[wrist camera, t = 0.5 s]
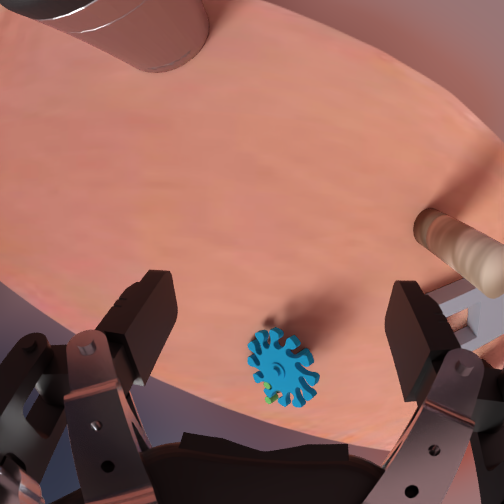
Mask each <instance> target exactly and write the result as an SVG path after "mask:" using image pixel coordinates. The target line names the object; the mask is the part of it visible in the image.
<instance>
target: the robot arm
mask: <svg viewBox="0 0 504 504" xmlns="http://www.w3.org/2000/svg"><path fill="white" fill-rule="evenodd" d="M0 4H1V5H2V6H4V7H5V8H7V9H8V10H11V11H13V12H15V13H18V14H20V15H23V16H26V17H28V18H31V19H33V20H36V21H38V22H41V23H43V24H45V25H48V26H50V27H53V28H55V29H57V30H60V31H62V32H65V33H67V34H69V35H71V36H73V37H76V38H78V39H80V40H82V41H84V42H86V43H88V44H90V45H92V46H95V47H97V48H99V49H101V50H103V51H105V52H107V53H109V54H111V55H112V56H114V57H116V58H118V59H120V60H122V61H124V62H126V63H128V64H130V65H132V66H134V67H135V68H137V69H139V70H142V71H146V72H154V73H158V72H166V71H169V70H173V69H176V68H178V67H180V66H182V65H184V64H185V63H187V62H188V61H189V60H191V59H192V58H193V57H194V56H195V55H196V54H197V53H198V52H199V51H200V49H201V48H202V46H203V45H204V43H205V41H206V38H207V36H208V30H209V21H208V17H207V14H206V12H205V9H204V6H203V4H202V1H201V0H0ZM177 313H178V307H177V301H176V296H175V290H174V285H173V279H172V275H171V273H170V271H163V270H149V271H148V272H147V273H146V274H145V276H144V277H143V278H142V280H141V281H140V282H136V283H134V284H133V285H131V286H130V287H128V288H127V289H125V291H124V292H123V293H122V294H121V296H120V297H119V299H118V300H117V301H116V302H115V303H114V306H113V307H111V309H110V310H109V311H108V313H107V314H106V315H105V317H104V318H103V319H102V321H101V322H100V323H99V325H98V326H97V327H96V329H95V330H86V331H83V332H80V333H78V334H76V335H75V336H74V337H72V338H71V339H70V341H69V342H68V344H67V345H50V344H49V342H48V340H47V338H46V336H45V335H44V334H41V333H31V334H28V335H26V336H24V337H22V338H21V339H20V340H19V341H18V342H17V343H16V344H15V346H14V347H13V348H12V350H11V351H10V352H9V353H8V355H7V356H6V358H5V359H4V360H3V361H2V363H1V364H0V504H45V501H44V498H43V497H42V496H41V488H40V486H39V485H40V482H41V480H42V478H43V475H44V473H45V471H46V468H47V466H48V464H49V461H50V459H51V457H52V455H53V452H54V450H55V448H56V446H57V443H58V441H59V439H60V437H61V435H62V433H63V431H64V429H65V427H66V425H67V426H68V432H69V438H70V443H71V449H72V454H73V458H74V463H75V467H76V471H77V476H78V479H79V483H80V487H81V488H79V489H78V490H76V491H74V492H72V493H70V494H68V495H66V496H64V497H62V498H60V499H58V500H56V501H54V502H52V503H50V504H441V503H442V501H443V499H444V497H445V495H446V493H447V491H448V489H449V487H450V485H451V483H452V481H453V479H454V477H455V474H456V472H457V470H458V468H459V465H460V463H461V461H462V458H463V456H464V453H465V451H466V448H467V445H468V443H469V440H470V442H471V447H472V451H473V456H474V461H475V466H476V472H477V477H478V483H479V489H480V497H481V504H504V368H503V370H500V369H494V368H487V367H484V365H483V362H482V361H481V359H480V358H479V357H478V356H477V355H476V354H475V353H473V352H472V351H470V350H467V349H462V348H461V346H460V344H459V342H458V340H457V338H456V336H455V334H454V332H453V330H452V328H451V326H450V324H449V323H447V319H446V317H445V315H443V312H442V310H441V308H440V306H439V304H438V303H437V302H436V301H435V300H434V299H433V298H431V297H430V296H429V295H424V294H423V292H422V290H421V288H420V286H419V285H418V283H417V282H416V281H399V280H397V281H395V283H394V285H393V289H392V293H391V297H390V301H389V305H388V308H387V312H386V316H385V332H386V336H387V339H388V342H389V346H390V349H391V353H392V356H393V360H394V363H395V367H396V370H397V374H398V378H399V382H400V385H401V389H402V393H403V397H404V401H405V402H411V401H417V405H418V407H417V409H416V410H415V412H414V414H413V416H412V417H411V419H410V421H409V423H408V424H407V426H406V428H405V429H404V431H403V433H402V435H401V436H400V438H399V439H398V441H397V443H396V444H395V446H394V447H393V449H392V450H391V452H390V454H389V455H388V456H387V458H386V459H385V461H384V462H383V463H382V465H381V466H378V465H376V464H375V463H373V462H371V461H369V460H366V459H364V458H361V457H358V456H354V455H349V454H348V444H326V445H325V444H322V445H321V444H318V445H316V444H314V445H312V444H307V445H302V446H298V447H292V448H287V449H280V450H274V451H266V452H265V451H259V450H256V449H252V448H249V447H246V446H243V445H240V444H237V443H234V442H232V441H229V440H226V439H223V438H217V437H209V436H203V435H197V434H191V433H186V432H184V433H183V436H182V439H181V442H176V443H169V444H164V445H160V446H156V447H152V445H151V443H150V441H149V439H148V437H147V435H146V433H145V430H144V428H143V425H142V422H141V420H140V417H139V415H138V412H137V409H136V407H135V403H134V401H133V398H132V395H131V393H130V391H129V390H130V388H131V386H132V384H136V385H141V386H145V385H146V382H147V380H148V378H149V376H150V374H151V372H152V370H153V368H154V365H155V363H156V361H157V359H158V357H159V355H160V353H161V351H162V349H163V347H164V345H165V343H166V340H167V338H168V336H169V334H170V332H171V330H172V328H173V326H174V324H175V322H176V319H177ZM34 387H35V388H36V390H37V391H38V393H39V396H38V398H37V399H36V401H35V403H34V404H33V406H32V408H31V410H30V411H29V413H28V415H27V417H26V419H25V418H24V415H23V405H24V403H25V402H26V400H27V398H28V397H29V395H30V393H31V391H32V390H33V388H34Z"/></svg>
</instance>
